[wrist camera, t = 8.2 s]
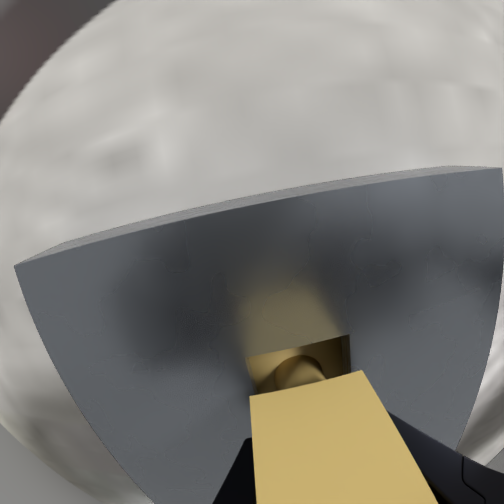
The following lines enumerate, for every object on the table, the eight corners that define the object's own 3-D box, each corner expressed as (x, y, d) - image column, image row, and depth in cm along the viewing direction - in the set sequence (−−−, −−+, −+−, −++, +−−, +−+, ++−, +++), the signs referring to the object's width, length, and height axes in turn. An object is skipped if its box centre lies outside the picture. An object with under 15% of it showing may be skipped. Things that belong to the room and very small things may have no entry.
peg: (342, 299, 11) (503, 518, 2) (347, 385, 12) (432, 569, 3) (226, 324, 11) (215, 608, 2) (250, 407, 12) (266, 614, 3)
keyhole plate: (448, 165, 10) (501, 167, 7) (417, 462, 15) (433, 491, 12) (62, 243, 10) (13, 265, 7) (202, 510, 15) (200, 544, 12)
